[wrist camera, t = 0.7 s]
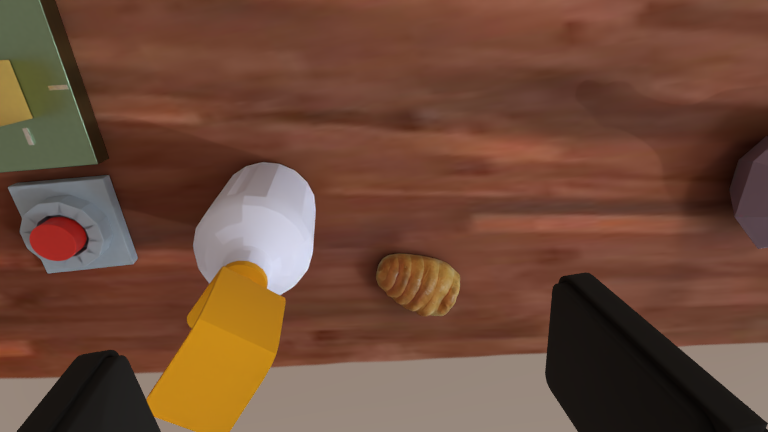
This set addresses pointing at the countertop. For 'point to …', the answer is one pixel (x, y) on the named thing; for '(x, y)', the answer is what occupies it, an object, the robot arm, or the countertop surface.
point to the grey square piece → (77, 219)
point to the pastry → (419, 283)
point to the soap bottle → (238, 296)
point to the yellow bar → (11, 97)
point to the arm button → (58, 238)
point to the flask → (752, 193)
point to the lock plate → (45, 92)
